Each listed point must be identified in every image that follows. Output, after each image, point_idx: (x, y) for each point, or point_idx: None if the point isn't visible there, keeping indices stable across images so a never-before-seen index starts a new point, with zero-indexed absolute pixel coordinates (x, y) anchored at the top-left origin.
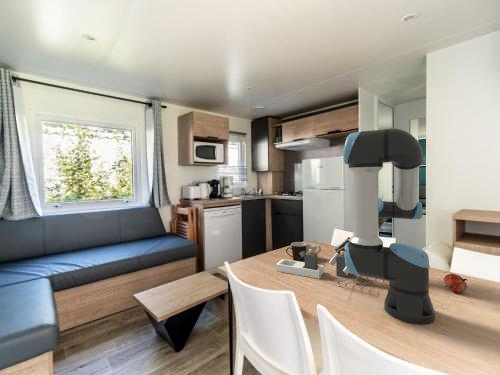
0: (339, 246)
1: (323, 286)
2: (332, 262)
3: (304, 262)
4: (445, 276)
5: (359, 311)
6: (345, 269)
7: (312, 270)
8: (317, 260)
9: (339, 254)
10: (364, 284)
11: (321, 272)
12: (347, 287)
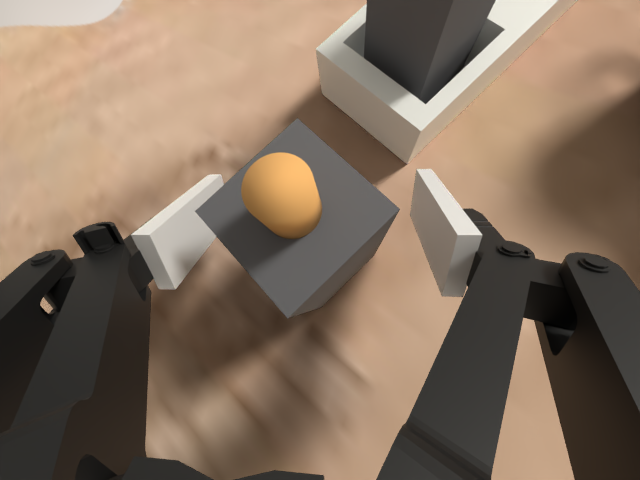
0: (625, 333)
1: (242, 80)
2: (418, 199)
3: (528, 22)
4: None
5: (14, 106)
6: (200, 184)
7: (348, 20)
8: (437, 41)
9: (352, 198)
10: (169, 298)
11: (364, 111)
12: (182, 183)
